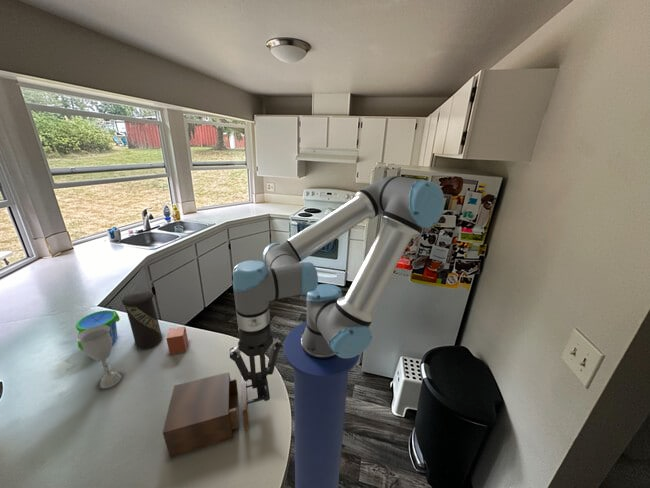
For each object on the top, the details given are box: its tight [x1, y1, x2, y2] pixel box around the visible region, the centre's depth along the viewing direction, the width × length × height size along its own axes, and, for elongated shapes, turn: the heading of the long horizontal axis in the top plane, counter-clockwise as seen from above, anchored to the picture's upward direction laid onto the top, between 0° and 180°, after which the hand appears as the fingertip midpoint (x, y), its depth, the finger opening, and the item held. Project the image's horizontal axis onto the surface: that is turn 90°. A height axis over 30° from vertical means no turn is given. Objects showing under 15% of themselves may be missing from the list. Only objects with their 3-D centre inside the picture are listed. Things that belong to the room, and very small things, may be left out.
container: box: [121, 289, 163, 350], centre depth 88 cm, size 9×9×20 cm
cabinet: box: [162, 371, 233, 458], centre depth 64 cm, size 14×13×9 cm
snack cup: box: [75, 309, 121, 351], centre depth 89 cm, size 16×10×10 cm
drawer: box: [229, 374, 271, 431], centre depth 66 cm, size 18×11×7 cm, turn 109°
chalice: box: [76, 325, 122, 389], centre depth 73 cm, size 7×7×18 cm
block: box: [165, 325, 189, 355], centre depth 88 cm, size 5×5×7 cm
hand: (260, 393), depth 68 cm, fingers closed
